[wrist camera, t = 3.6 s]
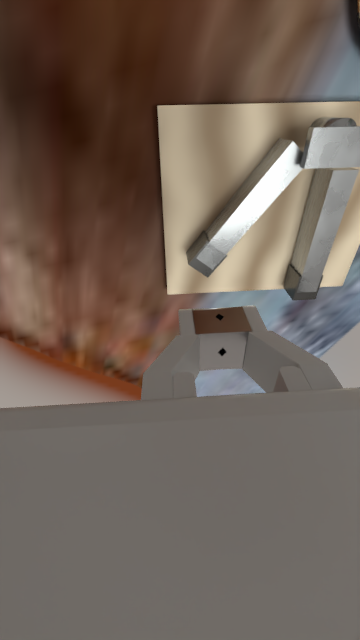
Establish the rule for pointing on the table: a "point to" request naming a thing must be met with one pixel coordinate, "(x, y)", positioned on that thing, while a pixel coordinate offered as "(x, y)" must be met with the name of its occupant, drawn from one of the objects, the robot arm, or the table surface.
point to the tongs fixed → (323, 200)
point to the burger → (359, 16)
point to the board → (227, 177)
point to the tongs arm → (246, 206)
